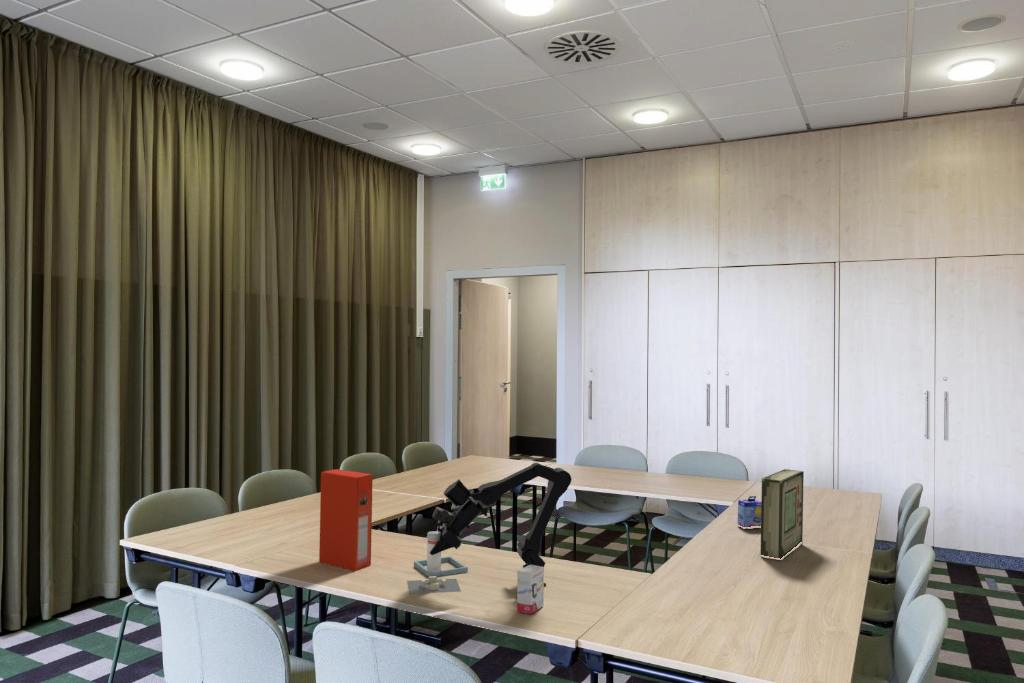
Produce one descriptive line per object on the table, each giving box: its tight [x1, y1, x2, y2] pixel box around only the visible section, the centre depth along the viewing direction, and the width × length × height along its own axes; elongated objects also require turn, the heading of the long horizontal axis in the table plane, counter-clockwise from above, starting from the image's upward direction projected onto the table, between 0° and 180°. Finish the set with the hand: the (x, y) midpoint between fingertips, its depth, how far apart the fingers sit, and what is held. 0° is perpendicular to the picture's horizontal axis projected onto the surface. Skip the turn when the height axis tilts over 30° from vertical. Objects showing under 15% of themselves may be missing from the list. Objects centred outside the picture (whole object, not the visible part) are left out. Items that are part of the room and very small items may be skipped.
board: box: [406, 576, 462, 595], centre depth 220 cm, size 16×12×3 cm
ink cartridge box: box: [737, 495, 761, 527], centre depth 309 cm, size 10×6×14 cm, turn 107°
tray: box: [413, 555, 469, 578], centre depth 237 cm, size 14×14×2 cm
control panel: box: [760, 468, 805, 559], centre depth 274 cm, size 30×8×30 cm, turn 143°
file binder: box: [318, 468, 374, 572], centre depth 243 cm, size 8×17×32 cm, turn 59°
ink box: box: [516, 565, 545, 615], centre depth 205 cm, size 9×5×12 cm, turn 150°
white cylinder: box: [426, 530, 442, 573], centre depth 220 cm, size 5×5×12 cm
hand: (429, 551), depth 220 cm, fingers closed on white cylinder, 4 cm apart
